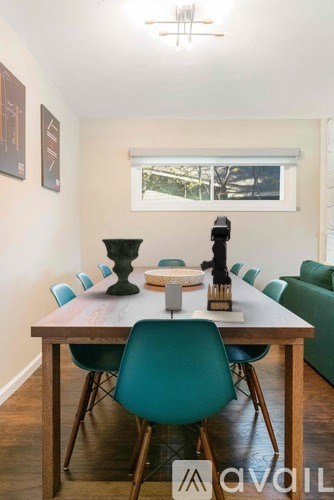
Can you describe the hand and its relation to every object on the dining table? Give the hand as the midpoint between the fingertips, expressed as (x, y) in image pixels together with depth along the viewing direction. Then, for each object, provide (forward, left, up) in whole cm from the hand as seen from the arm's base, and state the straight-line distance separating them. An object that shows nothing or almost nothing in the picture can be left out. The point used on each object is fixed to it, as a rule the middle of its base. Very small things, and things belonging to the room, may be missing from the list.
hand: (219, 289), depth 145 cm
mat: (+13, 0, -9) cm, 16 cm away
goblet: (-30, -55, -9) cm, 63 cm away
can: (+3, -20, -9) cm, 22 cm away
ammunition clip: (+4, 0, -9) cm, 10 cm away
